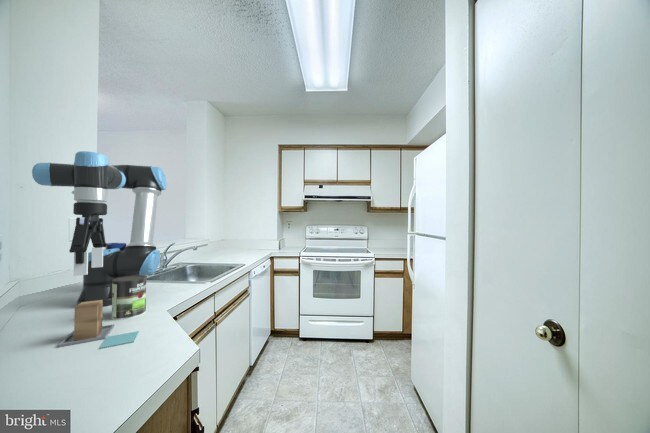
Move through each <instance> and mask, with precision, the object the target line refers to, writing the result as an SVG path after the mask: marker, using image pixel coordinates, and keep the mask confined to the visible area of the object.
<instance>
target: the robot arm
mask: <svg viewBox="0 0 650 433" xmlns="http://www.w3.org/2000/svg"><path fill="white" fill-rule="evenodd" d="M31 174H32V179H33V181H34V182H35V183H36V184H38V185H41V186H49V187H71V188H72V187H73V191H71V194H72V195H73V200H74V201H75V202H74V203H73V212H72V213H73V214H74V215H76V216H77V217H76V218H75V227H74V231H73V232H74V233H73V234H72V240H71V245H70V248H69V253H71V254H72V253H73V276H75V277H77V276H82V282H83V284H82V289H81V292H80V293H79V296H78V298H77V300H76V306H77V305H78V304H80V303H81V302H88V301H96V300H103V307H105V306H106V307H107V306H110V305H111V306H112V280H113V279H116V278H119V277H125V276H134V275H144V276H151V275H154V274H155V272H157V269H158V267H159V265H160V261H161V252H160V250H158V249H157V246H156V245H155V244H154V234H155V224H156V223H155V222H156V214H157V204H158V203H157V201H158V197H159V196H161V195H162V191H165V190H166V189H167V178H166V175H165V172H164V170H163V169H162V168H161V167H159V166H152V165H149V166H148V165H147V166H146V165H133V164H132V165H131V164H115V165H113V164H112V165H109V158H108V156H107V155H105V154H104V153H99V152H94V151H87V150H86V151H78V152H76V153H75V156H74V162H73V164H70V163H58V162H53V163H52V162H38V163H36V164H34V165H33V167H32V170H31ZM121 188H122V189H127V190H132V192H133V193H134V194H135V196H134V197H135V200H134V206H133V208H134V209H133V216H132V223H131V231H130V232H131V233H130V242H129V243H128V244H126V246H125V251H120V249H119V248H113V249H106V250H105V249H104V248H105V247H107V244H106V243H107V241H106V236H105V228H104V218H102V217H101V218H100V216H106V215H107V214H108V204H107V202H108V198H109V197H108V190H119V189H121ZM78 216H81V217H78ZM90 241H91V244H92V247H91V251H87V250H88V247H89V245H90Z"/></svg>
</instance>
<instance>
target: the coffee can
mask: <svg viewBox="0 0 650 433" xmlns="http://www.w3.org/2000/svg"><path fill="white" fill-rule="evenodd" d="M147 276H148V275H146V276H144V275H134V276H125V277H119V278H116V279H113V280H112V304H111V319H112V320H114V321H116V320H117V321H120V320H121V321H123V320H128V319H133V318H137V317H140V316H142V315H144V314H145V313H146V312H147V311H146V310H147V307H146V306H147Z"/></svg>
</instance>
